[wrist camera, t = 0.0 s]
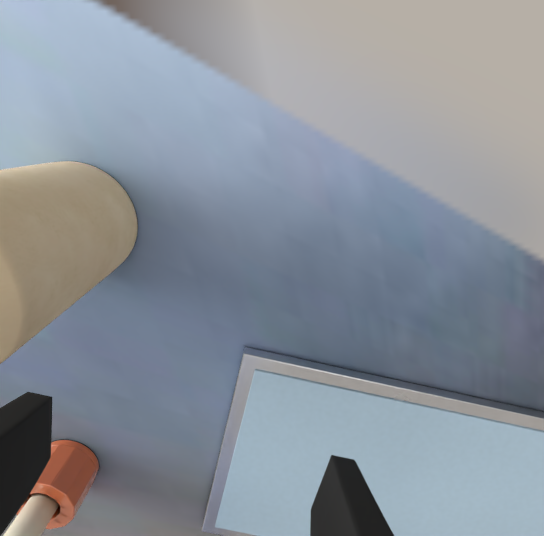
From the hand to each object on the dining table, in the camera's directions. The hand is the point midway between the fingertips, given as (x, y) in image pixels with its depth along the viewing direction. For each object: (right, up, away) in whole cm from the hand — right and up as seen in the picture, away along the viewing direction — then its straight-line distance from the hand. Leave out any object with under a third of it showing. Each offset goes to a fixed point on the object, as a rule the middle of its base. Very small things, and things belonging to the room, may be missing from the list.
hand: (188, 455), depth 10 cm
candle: (-7, +7, +9) cm, 13 cm away
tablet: (+10, -8, +14) cm, 19 cm away
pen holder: (-11, -7, +14) cm, 19 cm away
